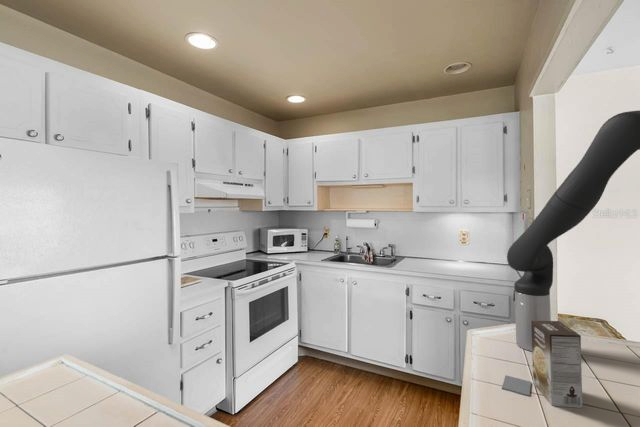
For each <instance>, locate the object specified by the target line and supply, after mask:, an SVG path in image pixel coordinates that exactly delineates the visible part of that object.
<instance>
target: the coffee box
mask: <svg viewBox="0 0 640 427" xmlns="http://www.w3.org/2000/svg"><path fill="white" fill-rule="evenodd" d="M531 330H532V351H531V353H532V354H531V355H532V356H531V357H532V359H531V360H532V382H533V383H532V385H534V387H535V388H537V390H538V392H540V393H541V395H542V396H543V397H544V398H545V399H546V401H547V402H549V404H550V405H551V406H553V407H554V406H555V407H565V408H578V409H582V408H583V387H582V386H583V382H582V381H583V378H582V377H583V376H582V370H583V369H582V341H581V340H582V337H581V336H582V335H580V334H579V333H577V332H576V331H574V330H573V329H572V328H570V327H568V326H567V325H565V324H564V323H563V322H561V321H559V320H551V321H531Z"/></svg>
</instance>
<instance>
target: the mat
mask: <svg viewBox="0 0 640 427" xmlns="http://www.w3.org/2000/svg"><path fill="white" fill-rule="evenodd" d="M504 376H505V377H504V378H503V382H502V387H501V390H505V391H508V392H512V393H515V394H519V395H523V396H527V397H530V395H531V387H532V381H531V380H525V379H522V378H520V377H519V378H518V377H514V376H509V375H507V374H505V375H504Z"/></svg>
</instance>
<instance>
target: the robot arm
mask: <svg viewBox="0 0 640 427" xmlns="http://www.w3.org/2000/svg"><path fill="white" fill-rule="evenodd" d="M639 150H640V109H639V110H628V111H623V112H621V113H618V114H615V115H613V116H612V117H610V118H608V119H607V120H606V121H605V122H604V123H603V124H602V125H601V127H600V128H599V130H598V131H597V133H596V134H595V136H594V138H593V140H592V141H591V143H590V144H589V147H588V148H587V150H586V152H585V153H584V155H583V157H582V158H581V160H580V161H579V162H578V163H577V165H576V166H575V167H574V168H573V169H572V170H571V172H569V174H568V175H567V177H566V178H565V179H564V180H563V182H562V183H561V184H560V185H559V187H558V188H557V189H556V190H555V192H553V194H552V195H551V197H550V198H549V199H548V201H547V203H545V204H544V207H543V208H542V210H541V211H540V212H539V214H537V216H536V217H535V218H534V220H533V221H532V223H531V224H530V225H529V226H528V227H527V229H526V230H524V232H523V233H522V234H521V235H520V236H519V237H517V239H516V240H515V241H514V242H513V243H512V244H511V246H510V247H509V249H508V250H507V254H506V255H507V256H506V260H507V264H508V265H509V267H510V268H512V269H513V270H514V271H516V272H517V271H518V272H522V273H523V272H524V273H523V275H522V276H521V277H520V278H519V279H518V280H516V281H515V282H514V284H513V286H514V287H513V288H514V306H515V308H514V309H515V310H514V312H515V314H514V315H515V341H516V342H515V344H516V345H517V346H518V347H519V348H521V349H524V350H527V351H530V352H532V330H531V321H552V320H551V319H552V317H551V314H552V313H551V312H552V311H551V293H550V292H551V288H552V286H553V283H554V282H553V281H554V256H553V252H552V249H551V248H550V246H548V245H549V244H550V243H551V242H553V241H554V240H556V239H557V238H559V237H561V236H562V235H563V234H566V233H567V232H569V231H570V230H572V229H574V228H575V227H576V226H578V225H579V224H580V223H582V221H583V220H584V219H585V218H586V217H587V216H588V215H589V214H590V212H591V211H592V210H594V208H595V207H596V205H598V203H599V201H600V200H601V198H602V196H603V195H604V192H605V190H606V187H607V186H608V183H609V181H610V179H611V178H612V176H613V175H614V174H615V172H616V171H617V170H618V169H619V168H621V166H622V165H623V164H624V163H625V162H626V161H627V160H628V159H629V158H630V157H631V156H632V155H634V154H635V153H636V152H637V151H639Z"/></svg>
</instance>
